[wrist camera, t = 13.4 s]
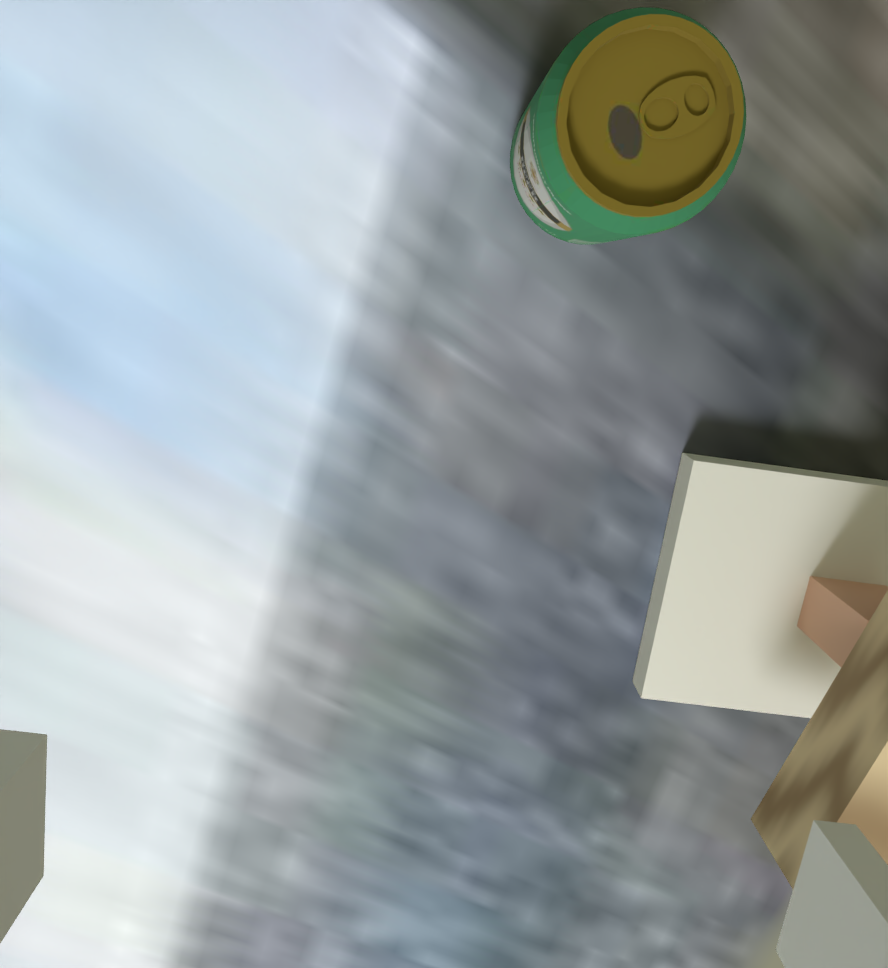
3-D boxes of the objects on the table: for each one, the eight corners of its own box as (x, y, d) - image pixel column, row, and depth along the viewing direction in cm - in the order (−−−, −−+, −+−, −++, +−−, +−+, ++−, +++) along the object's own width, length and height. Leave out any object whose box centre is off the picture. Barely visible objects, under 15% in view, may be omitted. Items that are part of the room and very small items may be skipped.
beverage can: (484, 114, 40) (508, 49, 29) (636, 50, 40) (724, -44, 28) (539, 269, 42) (583, 266, 31) (685, 209, 42) (785, 183, 30)
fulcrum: (682, 452, 45) (736, 489, 37) (1025, 499, 46) (1147, 544, 38) (632, 681, 48) (672, 758, 41) (953, 719, 49) (1052, 801, 42)
